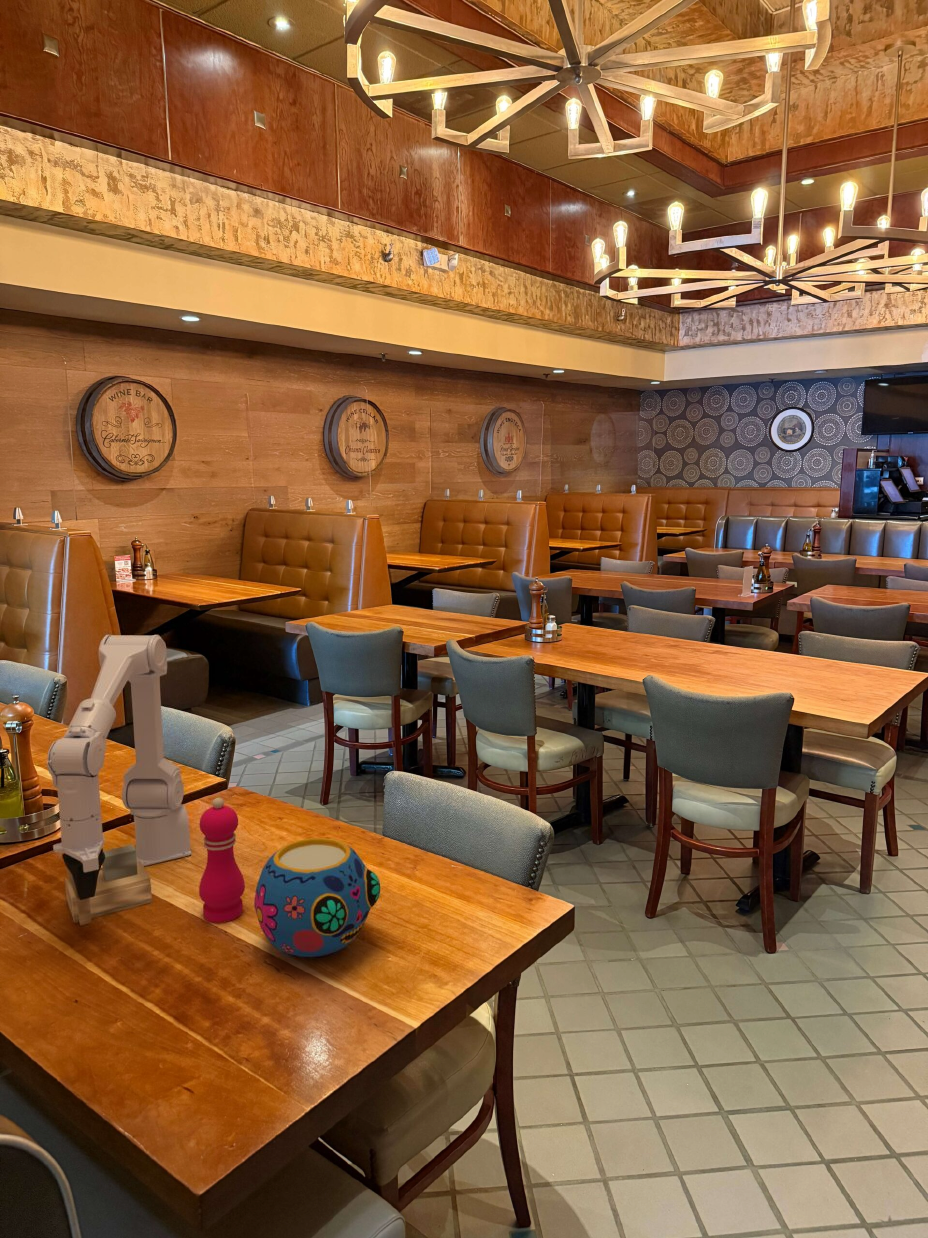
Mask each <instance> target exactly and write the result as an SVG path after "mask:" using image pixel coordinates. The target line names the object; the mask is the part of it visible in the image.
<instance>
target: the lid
mask: <svg viewBox="0 0 928 1238" xmlns="http://www.w3.org/2000/svg"><path fill="white" fill-rule="evenodd" d="M135 848H136V847H135V846H134V845H133V844H130V845H125V846H120V847H117V848H112V849H108V850H103V852H104V854H105V860H104V862H103V864H102V866H101V868H102V869H100V871H99V875H98V880H97V886H96V892H95V896H94V897H96V896H100V895H104V894H108V893H112V892H115V891H119V890H123V889H127V888H131V887H135V886H139V885H143V884H147V883H151V877H150V875H149V874H148V872H147V870H146V869H145V866H143V865H142V863H141V861H137V858H136V849H135ZM64 881H65V883H66V885H65V887H66V886H67V889H68V891H69V894H70V897H71V900H72V902H76V901H77V898H76V895H75V893H74V890H73V887H72V885H71V882H70V880H69V877H66V878H65V879H64ZM151 884H152V883H151ZM91 898H92V897H91Z"/></svg>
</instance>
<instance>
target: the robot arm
mask: <svg viewBox="0 0 928 1238" xmlns="http://www.w3.org/2000/svg"><path fill="white" fill-rule="evenodd" d="M167 656H168V655H167V646H166V642H165V641H164V640H163V638H162V637H161V636H160V635H159V634H154V635H123V634H122V635H121V634H119V635H113V634H105V636H103V638H102V640H101V641H100V643H99V646H98V660H99V666H100V671H99V673H98V675H97V679H96V682H95V685H94V687H93V689H92V693H91V695H90V698H87V699H84V700H82V701H81V702H79V705H78V707H77V709H76V711H75V713H74V715H73V716H72V718H71V721H70V723H69V726H68V727H67V728H66V731H65V733H64V735H63V736H62V737H60V738H58V739H57V740H55V741H53V742H52V744H50V747H49V749H48V752H47V753H48V754H47V761H46V768H47V771H48V773H49V774H50V776H51V778H52V785H53V787H54V788H56V789H57V801H58V812H59V813H58V814H59V822H60V824H59V825H60V835H61V836H60V838H61V839H60V840H61V842H59V843H56V844H53V845H52V848H53V852H54V853H55V854H59V853H62V854H61V858H62V860H63V862H64V865H65V867H66V869H67V868H68V870H69V871H70V872H71V874H72V876H73V880H74V884H75V887H76V891H77V893H78V896H79V898H80V900H83V899H87V898H91V897H94V896H95V892H96V886H97V880H98V875H99V871H100V870H101V868H102V864H103V862H104V860H105V854H104V852H103V851H104V850H103V849H104V848H103V846H104V844H105V836H104V835H103V824H102V823H103V821H102V820H103V819H102V808H101V807H102V806H101V805H102V804H101V793H100V778H99V774H100V772H101V770H102V769H103V766H104V763H105V757H106V749H107V742H106V740H107V738H108V736H109V733H110V730H111V728H112V726H113V724H114V722H115V720H116V717H117V714H116V713H117V712H116V710H115V708H114V705H115V703H116V701H117V699H118V698H119V696H120V694H121V692H122V691H123V689H124V688H125V686H126V684H127V682H129V683H130V687H131V688H130V689H131V690H130V691H131V692H130V693H131V703H132V704H131V705H132V706H131V707H132V719H133V720H132V721H133V737H134V756H135V763H134V764H133V765H130V767H129V768H127V770H126V771H125V773H124V774H123V785H122V790H121V800H122V804H123V805H124V808H125V809H127V810H129V813H130V815H131V816H132V815H133V822H134V833H135V834H134V835H135V837H134V838H135V847H134V848H135V849H136V858H137V861H141V863H142V865H143V867H145V866H150V865H154V864H159V863H163V862H166V861H171V860H174V859H179V858H183V857H187V856H190V855H192V850H191V838H190V837H191V836H190V821H189V815H188V811H187V808H186V806H185V804H182V802H183V798H184V792H185V791H184V782H183V780H182V776H181V775H182V774H181V770H180V767H179V766H177V764H174V763H173V762H171V761H169V760H168V759H166V758H165V753H164V739H163V736H164V735H163V718H162V717H163V716H162V702H161V701H162V700H161V684H160V683H161V681H160V679H161V678H160V677H162V676H164V675H166V674H167V672H168V657H167Z"/></svg>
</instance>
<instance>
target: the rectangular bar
mask: <svg viewBox="0 0 928 1238" xmlns="http://www.w3.org/2000/svg"><path fill="white" fill-rule="evenodd" d="M66 874H67V876H68V877H67V878H69V880H70V882H71V885H72V887H73V890H74V893H75V895H76V898H79V896H78V893H77V891H76V887H75V884H74V880H73V876H72V874H71V872H70V871H69V870H68V868H67V867H66Z"/></svg>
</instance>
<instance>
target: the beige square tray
mask: <svg viewBox="0 0 928 1238" xmlns="http://www.w3.org/2000/svg"><path fill="white" fill-rule="evenodd" d="M64 885H65V896H66V905H67V906H68V910H69V911H70V915H71V917H72V921H73V923H74V924H76V923H78V924H79V925H80V926H85V925H89V924H91V923H92V919H95V918H99V917H102V916H106V915H109V914H114V913H117V912H121V911H125V910H129V909H132V908H136V907H140V906H144V905H148V904H150V903H153V898H152V897H153V896H152V895H153V894H152V883H147V884H143V885H139V886H135V887H131V888H127V889H123V890H119V891H115V892H112V893H108V894H104V895H100V896H96V897H92V898H87V899H83V900H80V898H77V901H76V902H72V900H71V897H70V894H69V891H68V889H67V886H66V883H65V884H64Z"/></svg>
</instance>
